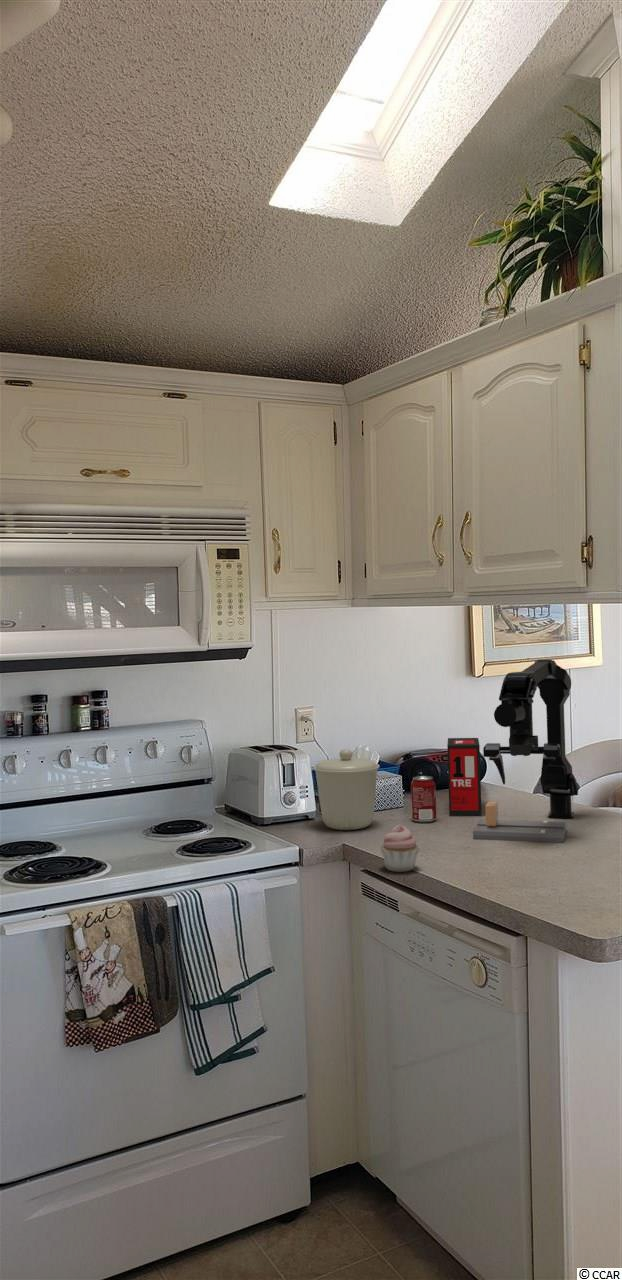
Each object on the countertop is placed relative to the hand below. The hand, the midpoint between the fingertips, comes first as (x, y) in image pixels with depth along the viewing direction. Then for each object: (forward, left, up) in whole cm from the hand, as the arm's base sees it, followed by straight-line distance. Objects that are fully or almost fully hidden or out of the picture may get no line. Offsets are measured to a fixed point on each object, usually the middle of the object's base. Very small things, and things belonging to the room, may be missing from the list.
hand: (522, 784), depth 235 cm
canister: (-4, -47, -13) cm, 49 cm away
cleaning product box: (-30, -19, -14) cm, 38 cm away
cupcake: (+36, -24, -13) cm, 45 cm away
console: (-2, -1, -13) cm, 13 cm away
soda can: (-14, -28, -13) cm, 34 cm away
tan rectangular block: (-2, -8, -12) cm, 15 cm away
